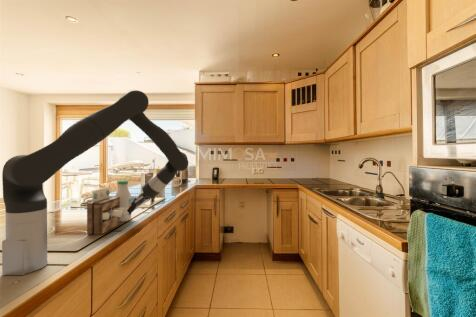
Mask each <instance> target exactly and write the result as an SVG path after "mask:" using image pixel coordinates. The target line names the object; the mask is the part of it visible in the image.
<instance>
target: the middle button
mask: <svg viewBox="0 0 476 317" xmlns="http://www.w3.org/2000/svg"><path fill="white" fill-rule="evenodd" d="M108 213H109V214H110V217H121V216H122V210H109V211H108Z"/></svg>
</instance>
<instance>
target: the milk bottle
mask: <svg viewBox="0 0 476 317" xmlns="http://www.w3.org/2000/svg"><path fill="white" fill-rule="evenodd" d="M128 185H129V181H128V180H118V181H117V186H118V188H117V190H116V192H115V195H114V197H120V208H127V210H128V209H129V208H130V207H131V206H132V205H131V204H132V194H131V193H130V190H129V187H128ZM131 219H132V213H129V212H128V211H127V214H122V216H121V217H120V223H122V222H123V223H124V222H128V221H131Z"/></svg>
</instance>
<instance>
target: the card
mask: <svg viewBox="0 0 476 317" xmlns="http://www.w3.org/2000/svg"><path fill="white" fill-rule="evenodd" d="M110 194H111V192H110V186H106V187H102V188H98V189H95V190H92V194H91V196H92V200H91V202H92V203H93V202H97V201H100V200H103V199H106V198H109V197H110Z"/></svg>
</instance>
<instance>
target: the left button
mask: <svg viewBox="0 0 476 317" xmlns="http://www.w3.org/2000/svg"><path fill="white" fill-rule="evenodd" d="M109 217H110V214H109V213H107V212H102V220H108V219H109Z"/></svg>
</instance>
